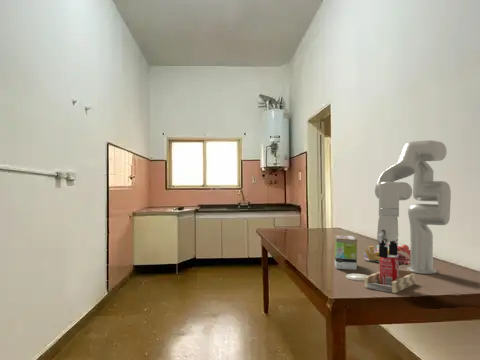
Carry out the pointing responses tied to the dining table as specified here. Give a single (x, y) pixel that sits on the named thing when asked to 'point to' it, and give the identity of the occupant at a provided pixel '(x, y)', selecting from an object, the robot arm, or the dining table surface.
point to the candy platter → (374, 254)
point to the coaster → (356, 277)
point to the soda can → (389, 270)
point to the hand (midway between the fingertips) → (388, 256)
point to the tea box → (345, 252)
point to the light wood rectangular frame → (403, 282)
